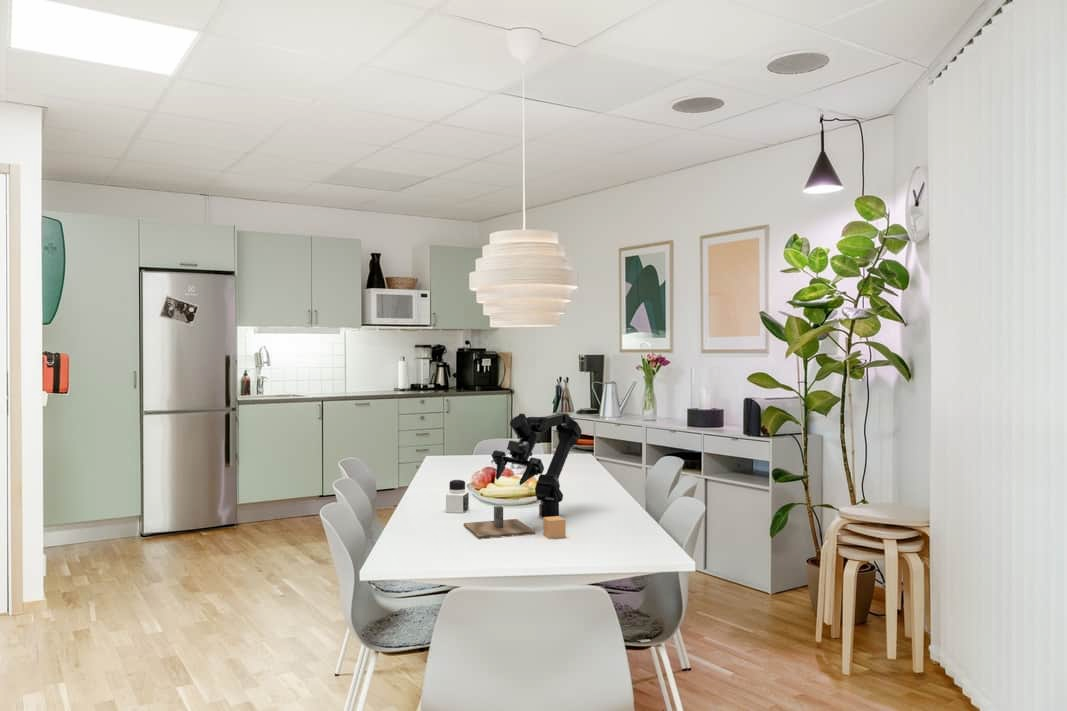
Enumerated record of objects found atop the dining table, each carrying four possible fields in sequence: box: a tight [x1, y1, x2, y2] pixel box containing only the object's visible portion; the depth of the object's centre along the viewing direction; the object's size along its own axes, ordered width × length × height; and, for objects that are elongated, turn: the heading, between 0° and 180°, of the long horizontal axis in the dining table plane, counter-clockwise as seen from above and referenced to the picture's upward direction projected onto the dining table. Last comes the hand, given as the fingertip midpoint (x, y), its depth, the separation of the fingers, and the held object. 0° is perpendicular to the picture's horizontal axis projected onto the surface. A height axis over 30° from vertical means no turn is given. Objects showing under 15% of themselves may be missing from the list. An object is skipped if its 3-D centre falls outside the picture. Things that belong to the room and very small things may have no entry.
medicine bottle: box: [445, 479, 470, 514], centre depth 301 cm, size 7×7×12 cm
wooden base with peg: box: [463, 505, 536, 540], centre depth 270 cm, size 20×20×8 cm
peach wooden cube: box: [542, 515, 567, 540], centre depth 261 cm, size 6×6×6 cm
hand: (508, 481), depth 268 cm, fingers open, 9 cm apart
